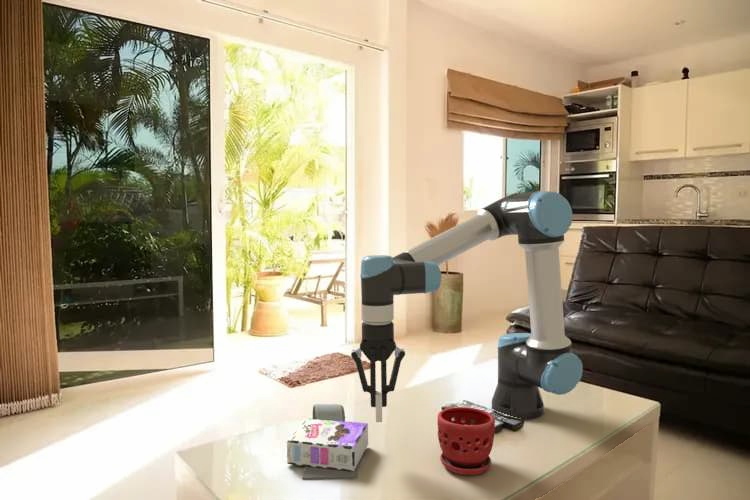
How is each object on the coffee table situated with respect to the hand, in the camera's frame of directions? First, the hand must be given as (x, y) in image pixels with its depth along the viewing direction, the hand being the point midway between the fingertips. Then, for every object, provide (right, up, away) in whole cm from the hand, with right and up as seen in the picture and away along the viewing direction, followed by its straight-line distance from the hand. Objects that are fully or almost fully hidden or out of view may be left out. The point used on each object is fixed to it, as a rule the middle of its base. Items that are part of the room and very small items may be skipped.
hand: (378, 419), depth 119 cm
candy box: (-4, -7, +1) cm, 8 cm away
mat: (-11, -10, 0) cm, 15 cm away
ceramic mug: (-14, -9, +18) cm, 25 cm away
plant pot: (+20, -10, -2) cm, 23 cm away
